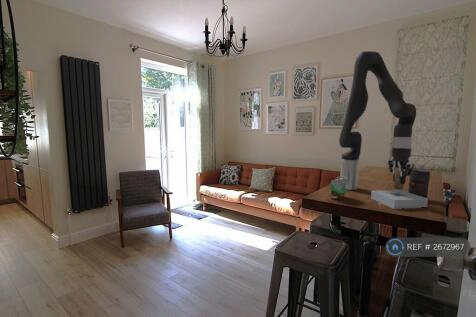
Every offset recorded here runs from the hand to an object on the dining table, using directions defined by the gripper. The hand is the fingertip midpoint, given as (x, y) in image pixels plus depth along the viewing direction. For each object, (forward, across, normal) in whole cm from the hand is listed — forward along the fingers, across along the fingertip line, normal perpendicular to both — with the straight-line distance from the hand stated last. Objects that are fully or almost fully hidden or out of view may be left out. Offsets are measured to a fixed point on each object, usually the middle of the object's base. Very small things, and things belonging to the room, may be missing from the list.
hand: (398, 183), depth 116 cm
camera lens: (+10, -4, +14) cm, 18 cm away
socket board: (+10, 0, 0) cm, 10 cm away
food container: (+10, -11, -23) cm, 27 cm away
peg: (+3, 0, 0) cm, 3 cm away
